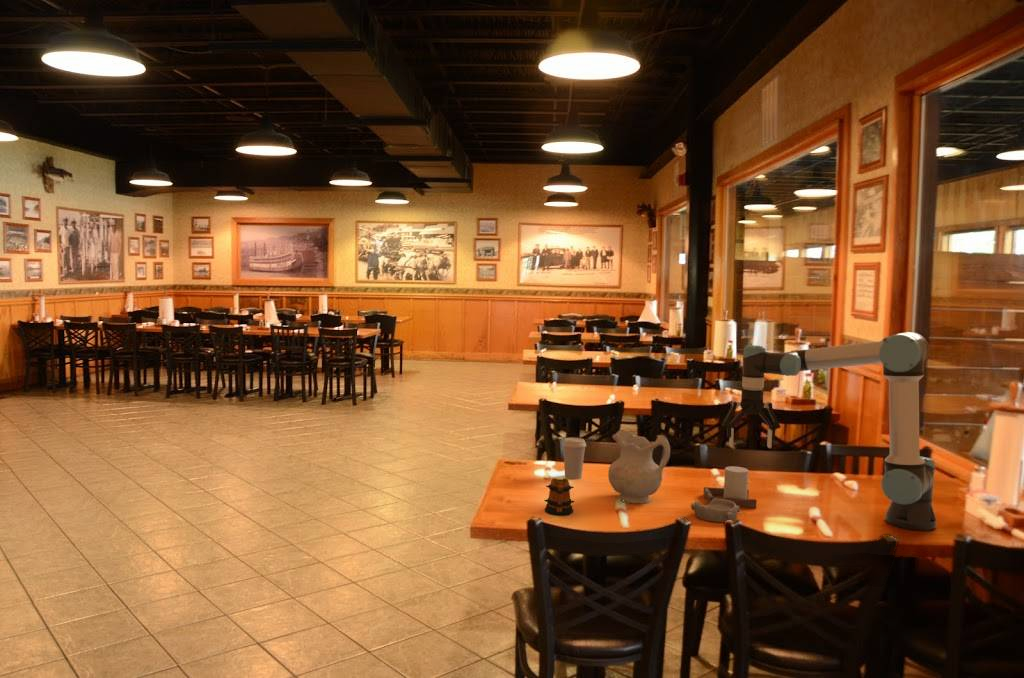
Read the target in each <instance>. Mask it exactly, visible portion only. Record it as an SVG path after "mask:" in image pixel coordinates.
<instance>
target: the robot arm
mask: <svg viewBox="0 0 1024 678" xmlns="http://www.w3.org/2000/svg"><path fill="white" fill-rule="evenodd" d="M929 353H930V347H929V343H928V341H927V340H926V338H924V337H923V335H921V334H919V333H917V332H912V331H905V332H900V333H895V334H894V333H893V334H892V335H890V336H887V337H886V336H885V337H883V338H882V339H881V340H877V341H868V342H861V343H852V344H851V343H850V344H843V345H833V346H832V345H831V346H826V347H824V346H823V347H817V348H809V349H808V348H807V349H794V350H791V351H786V352H768V351H767V350H766V347H765V346H763V345H752V344H751V345H749V344H748V345H746V346H744V348H743V354H742V374H741V375H742V377H741V378H742V379H741V380H742V382H741V387H742V389H741V396H740V397H741V401H735V400H732V401H731V407H730V409H729V411H728V412H727V414H726V416H725V417H724V419H723V420H722V423H721V425H722V427H723V428H726V437H727V438H729V440H728V441H729V442H728V443H729V444H728V446H729V447H730V448H734V437H735V436H734V431H735V430H734V428H733V427H735V425H736V424H738V422H739V421H740V420H741V419H742V418H743V417H744V416H745V415H755V416H757V415H759V416H760V417H761V418H762V420H763V421H764V422H765V423H766V424H767V426H768V427H769V428H767V441H766V445H767V446H766V447H767V448H768V449H772V445H773V444H772V443H773V441H772V440H773V439H775V436H776V435H775V434H776V430H778V429H780V428H781V424H780V422H779V419H778V417H777V416H776V413H775V411H774V408H773V403H772V402H771V401H767V402H764V390H763V389H764V388H765V374H770V375H771V374H772V375H779V376H785V377H789V376H793V377H795V376H798V374H799V373H800V372H804V371H805V372H806V371H813V370H815V371H817V370H823V369H824V370H825V369H835V368H846V367H847V368H848V367H855V366H857V367H858V366H868V365H877V364H882V367H883V368H882V372H883V374H882V375H883V377H884V378H885V379H886V380H887V381H888V419H889V420H888V427H889V433H888V434H889V435H888V436H889V454H888V455H887V456H886V457H885V458H884V474H883V476H882V479H881V489H882V491H883V493H884V495H885V496H886V498H887V499H889V500H890V503H889V506H888V508H887V511H886V512H885V521H886V522H887V523H889V524H890V525H893V526H895V527H899V528H903V529H906V530H907V529H908V530H912V529H915V530H914V531H932V530H931V529H933V530H935V529H936V528H937V519H936V518H937V517H936V514H935V511H934V510H935V509H934V508H933V494H934V493H933V491H934V483H935V482H934V480H935V470H936V463H935V462H936V461H935V460H934V459H932V458H931V457H925V456H921V455H920V452H921V451H920V450H921V449H920V448H921V447H920V396H919V395H920V394H919V393H920V392H919V391H920V388H919V387H920V386H919V385H920V384H919V383H920V382H919V381H920V380H921V379H922V378H923V377H925V371H924V370H925V361H926V360H927V359H928V357H929ZM739 407H740V410H739V411H738V413H737V414H736V415H735V413H736V410H737V409H738V408H739ZM763 408H766V409H767V411H768V414H769V416H770V418H771V420H772V422H773V423H772V422H771V420H770V419H769V418H768V417H767V415H766V414H765V413H764V412H763ZM733 415H735V416H734V417H733ZM732 418H733V419H732ZM934 528H935V529H934Z"/></svg>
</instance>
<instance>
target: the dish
mask: <svg viewBox="0 0 1024 678" xmlns="http://www.w3.org/2000/svg"><path fill="white" fill-rule="evenodd" d="M690 508H691V510H693V511H694V514H695V516H696V517H697V518H699V519H701V520H703V521H707V522H713V523H726V522H725V521H727V520H734V521H735V520H737V518H738V513H740V512H741V511H740V509H741V508H740V507H739V506H736V504H735V503H734V502H732V501H730V500H725V499H718V498H713V500H712V501H711V502H710V503H709V504H706V505H705V504H704V505H703V504H702V503H701V502H700V501H699V500H695V501H694V502H692V503H691V504H690Z"/></svg>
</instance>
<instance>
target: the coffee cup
mask: <svg viewBox="0 0 1024 678" xmlns="http://www.w3.org/2000/svg"><path fill="white" fill-rule="evenodd" d="M561 445H562V446H563V464H564V465H563V467H564V478H565V479H567V480H580V479H582V474H583V466H584V459H585V451H586V450H585V449H586V447H587V443H586V441H585V439H584V438H582V437H565V438H564V440H563V441H562V444H561Z"/></svg>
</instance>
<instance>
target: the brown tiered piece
mask: <svg viewBox="0 0 1024 678" xmlns="http://www.w3.org/2000/svg"><path fill="white" fill-rule="evenodd" d="M545 487H546V488H548V489H549V493H548V497H547V499H544V502H547V503H546V505H545V507H544V512H545V514H548V515H550V516H556V517H565V516H567V517H568V516H571V515H573V514H574V508H573V506H572V503H575V501H574V500H572V499H571V492H570V491H571V490H572V489H574V488H575V486H571V485H570V481H569V479H568V478H562V479H561V478H560V479H558V478H555V477H553V478H551V481H550V484H548V485H545Z"/></svg>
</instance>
